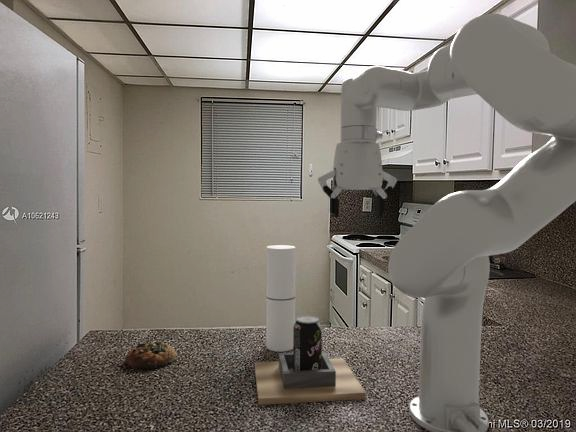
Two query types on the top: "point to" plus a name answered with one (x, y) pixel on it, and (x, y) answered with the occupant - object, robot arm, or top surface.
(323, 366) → the board
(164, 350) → the bread roll
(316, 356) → the beverage can
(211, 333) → the top surface
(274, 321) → the cylindrical container
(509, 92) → the robot arm
